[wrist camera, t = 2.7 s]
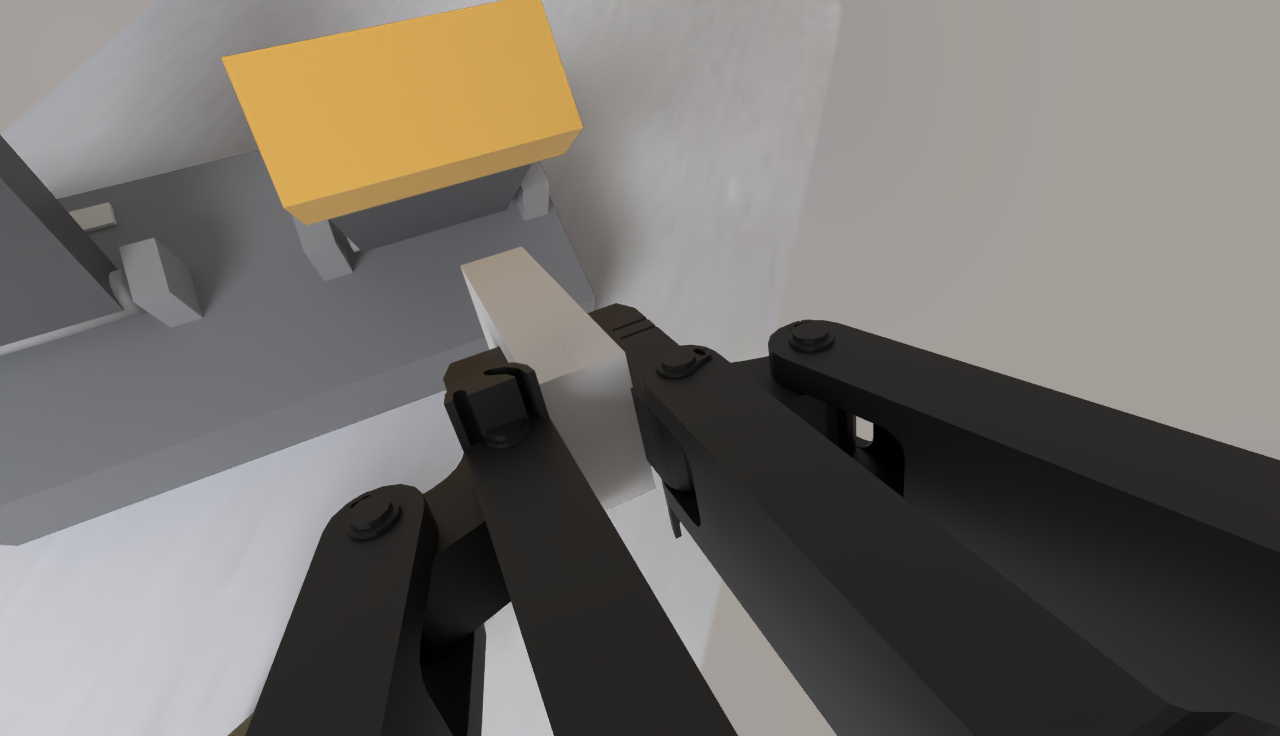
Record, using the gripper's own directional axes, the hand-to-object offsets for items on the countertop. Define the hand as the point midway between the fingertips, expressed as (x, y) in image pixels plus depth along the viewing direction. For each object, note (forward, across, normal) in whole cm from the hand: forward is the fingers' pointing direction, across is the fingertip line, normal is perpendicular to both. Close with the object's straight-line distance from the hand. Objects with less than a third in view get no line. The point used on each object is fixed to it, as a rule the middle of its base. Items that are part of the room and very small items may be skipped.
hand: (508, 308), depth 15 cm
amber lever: (+15, 0, 0) cm, 15 cm away
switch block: (+19, -8, -5) cm, 21 cm away
